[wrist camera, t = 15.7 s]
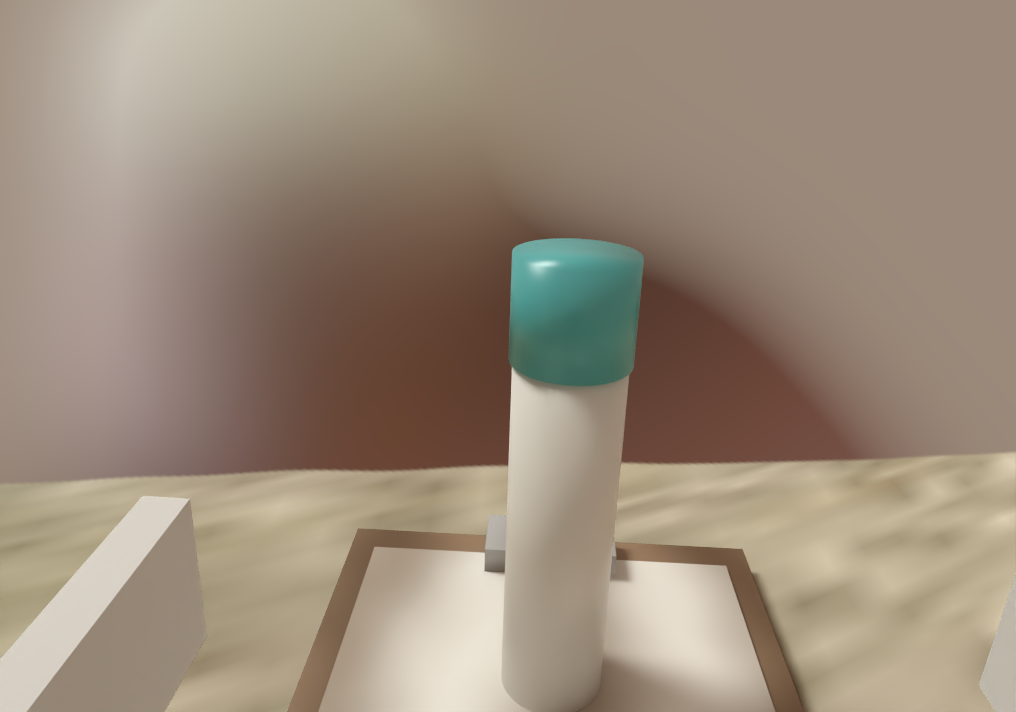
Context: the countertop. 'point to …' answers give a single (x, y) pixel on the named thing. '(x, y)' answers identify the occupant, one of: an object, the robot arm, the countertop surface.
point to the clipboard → (479, 631)
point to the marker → (564, 462)
